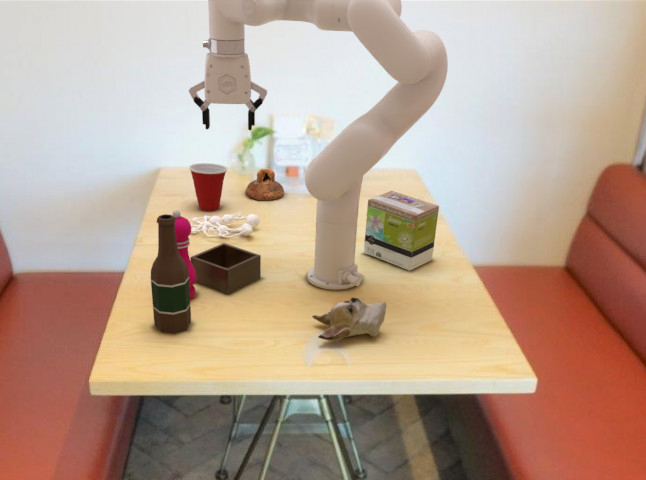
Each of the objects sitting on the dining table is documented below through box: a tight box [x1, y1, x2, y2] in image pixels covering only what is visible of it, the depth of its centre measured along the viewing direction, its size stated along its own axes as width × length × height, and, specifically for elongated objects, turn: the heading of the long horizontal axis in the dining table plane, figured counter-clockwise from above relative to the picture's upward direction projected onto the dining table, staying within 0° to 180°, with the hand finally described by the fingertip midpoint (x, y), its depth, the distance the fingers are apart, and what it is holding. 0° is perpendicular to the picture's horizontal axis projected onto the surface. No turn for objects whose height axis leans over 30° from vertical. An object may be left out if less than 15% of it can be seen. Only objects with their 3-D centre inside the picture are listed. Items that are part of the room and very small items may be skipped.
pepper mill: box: [171, 209, 196, 300], centre depth 177 cm, size 7×7×20 cm
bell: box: [245, 168, 285, 201], centre depth 240 cm, size 12×12×7 cm
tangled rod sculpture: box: [187, 211, 261, 239], centre depth 215 cm, size 19×14×4 cm
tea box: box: [363, 190, 440, 272], centre depth 200 cm, size 15×10×15 cm
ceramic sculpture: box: [311, 297, 388, 342], centre depth 167 cm, size 11×9×15 cm
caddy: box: [189, 242, 262, 295], centre depth 189 cm, size 12×12×6 cm
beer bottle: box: [150, 213, 192, 334], centre depth 164 cm, size 8×8×24 cm
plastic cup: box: [188, 162, 228, 212], centre depth 228 cm, size 11×11×12 cm
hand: (228, 128), depth 182 cm, fingers open, 9 cm apart
